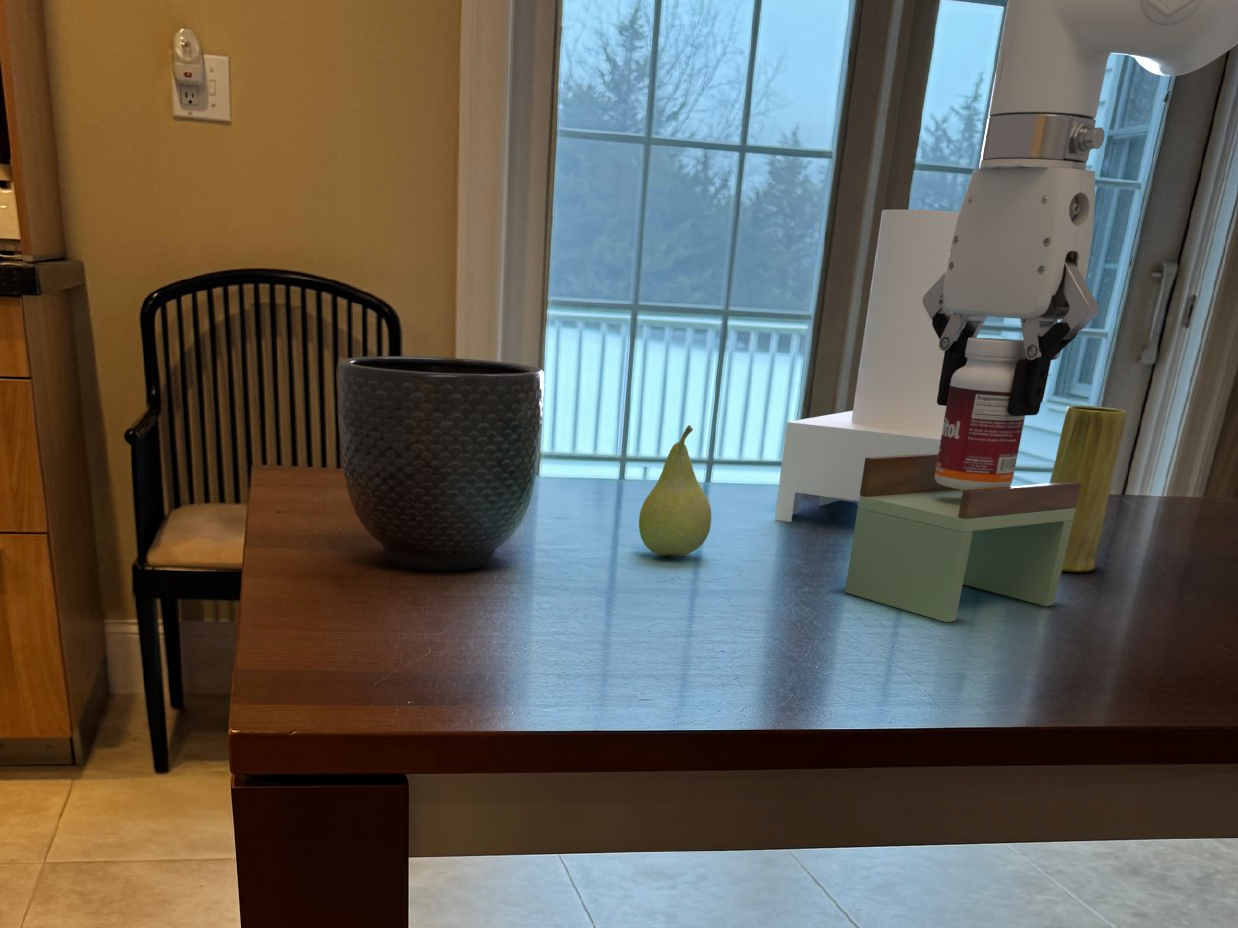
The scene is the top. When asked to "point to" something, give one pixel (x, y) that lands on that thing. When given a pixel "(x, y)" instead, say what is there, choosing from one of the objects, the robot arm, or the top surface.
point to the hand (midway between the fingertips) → (986, 407)
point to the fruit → (675, 507)
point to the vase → (1088, 475)
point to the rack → (955, 538)
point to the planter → (439, 454)
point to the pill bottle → (981, 418)
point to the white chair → (880, 371)
